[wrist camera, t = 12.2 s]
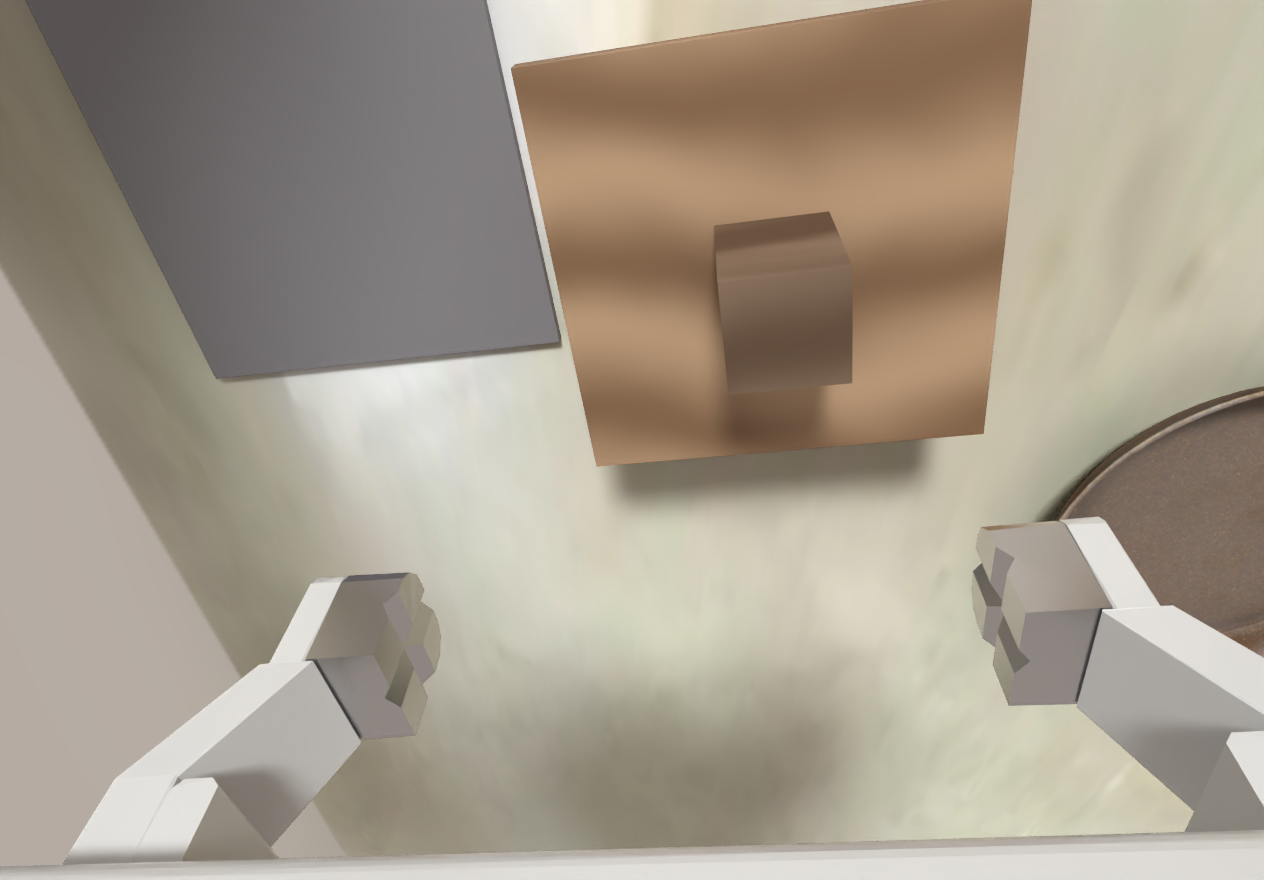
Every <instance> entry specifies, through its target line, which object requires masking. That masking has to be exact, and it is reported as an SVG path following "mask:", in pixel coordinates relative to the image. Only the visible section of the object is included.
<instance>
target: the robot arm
mask: <svg viewBox="0 0 1264 880" xmlns="http://www.w3.org/2000/svg"><path fill="white" fill-rule="evenodd" d="M976 550H977V552H978V555H979V557H980V559H981V562H982V563H981V564H980V565H979V566H978V567H977V568H976V569H975V570H974V571H973V577H972V600H973V609H974V613H975V617H976V621H977V624H978V627H979V630H980V633H981V635H982V638H983V639H985V640H986V641H987V642H989V643H990V644H991V645H993V646H994V647H995V652H994V659H993V667H994V669H995V672H996V674H997V677H998V679H999V682H1000V685H1001V687H1002V690H1003V692H1004V695H1005V697H1006V700H1007V702H1008V705H1009V706H1015V705H1055V704H1077V708H1078V709H1079V710H1080V711H1081V712H1083V713H1084V714H1085V715H1086V716H1087V717H1088V718H1089V719H1091V720H1092V721H1093V722H1094V723H1095V724H1096V725H1097V726H1098V727H1100V728H1101V729H1102V730H1103V731H1104V732H1105V733H1106V734H1107V735H1109V736H1110V737H1111V738H1112V739H1113V740H1114V741H1115V742H1117V743H1118V744H1119V745H1120V746H1121V747H1122V748H1123V749H1124V750H1126V751H1127V752H1128V753H1129V754H1130V755H1131V756H1132V757H1134V758H1135V759H1136V760H1137V761H1138V762H1139V763H1140V764H1141V765H1143V766H1144V767H1145V768H1146V769H1147V770H1148V771H1149V772H1151V773H1152V774H1153V775H1154V776H1155V777H1156V778H1157V779H1158V780H1160V781H1161V782H1162V783H1163V784H1164V785H1165V786H1166V787H1167V788H1169V789H1170V790H1171V791H1172V792H1173V793H1174V794H1175V795H1177V796H1178V797H1179V798H1180V799H1181V800H1182V801H1183V802H1184V803H1186V804H1187V805H1188V806H1189V807H1190V808H1191V809H1192V810H1194V813H1193V815H1192V817H1191V819H1190V822H1189V824H1188V826H1187V828H1186V830H1185V832H1168V833H1134V834H1100V835H1065V836H1031V837H997V838H962V839H929V840H897V841H864V842H831V843H798V844H765V845H732V846H698V847H663V848H628V849H593V850H558V851H523V852H489V853H454V854H420V855H385V856H351V857H317V858H283V859H280V858H279V857H278V856H277V855H276V853H275V852H274V851H273V850H272V849H271V846H272V845H273V844H274V843H275V842H276V841H277V839H278V838H279V837H280V836H281V835H282V834H283V833H284V831H285V830H286V829H287V828H288V827H289V826H290V824H291V823H292V822H293V821H294V820H295V819H296V817H297V816H298V815H299V814H300V813H301V812H302V811H303V809H304V808H305V807H306V806H307V805H308V804H309V803H310V802H311V800H312V799H313V798H314V797H315V796H316V795H317V793H318V792H319V791H320V790H321V789H322V788H323V787H324V785H325V784H326V783H327V782H328V781H329V780H330V779H331V777H332V776H333V775H334V774H335V773H336V772H337V770H338V769H339V768H340V767H341V766H342V765H343V764H344V762H345V761H346V760H347V759H348V758H349V757H350V756H351V754H352V753H353V752H354V751H355V750H356V749H357V747H358V746H359V745H360V744H361V740H363V739H376V738H388V737H401V736H414V735H416V732H417V729H418V726H419V723H420V720H421V716H422V713H423V710H424V707H425V703H426V700H427V697H428V696H427V694H426V692H425V690H424V688H423V686H422V684H423V683H424V682H425V681H426V680H427V679H428V678H429V677H430V676H431V675H432V674H433V673H434V672H435V671H436V667H437V663H438V660H439V656H440V641H441V635H440V629H439V624H438V620H437V618H436V616H435V613H434V611H433V610H432V609H431V608H429V607H428V606H426V605H425V604H423V603H422V602H420V601H421V598H422V595H423V592H424V588H423V586H422V584H421V582H420V580H419V578H418V576H417V575H416V574H413V573H392V574H374V575H355V576H348V577H330V578H318V579H317V580H315V581H314V582H313V583H311V584H310V586H309V587H308V589H307V591H306V593H305V595H304V597H303V599H302V601H301V603H300V605H299V607H298V609H297V610H296V612H295V614H294V616H293V618H292V620H291V622H290V624H289V626H288V628H287V630H286V632H285V634H284V636H283V637H282V639H281V641H280V643H279V645H278V647H277V649H276V651H275V653H274V655H273V657H272V659H271V661H270V663H268V664H259V665H258V666H257V667H255V668H254V669H253V670H252V671H250V672H249V673H248V674H247V675H245V676H244V677H243V678H242V679H240V680H239V681H238V682H237V683H236V684H234V685H233V686H232V687H230V688H229V689H228V690H227V691H225V692H224V693H223V694H221V695H220V696H219V697H218V698H216V699H215V700H214V701H213V702H211V703H210V704H209V705H208V706H206V707H205V708H204V709H202V710H201V711H200V712H199V713H197V714H196V715H195V716H194V717H192V718H191V719H190V720H189V721H187V722H186V723H185V724H184V725H182V726H181V727H180V728H179V729H177V730H176V731H175V732H173V733H172V734H171V735H170V736H168V737H167V738H166V739H165V740H163V741H162V742H161V743H160V744H158V745H157V746H156V747H155V748H153V749H152V750H151V751H150V752H148V753H147V754H146V755H144V756H143V757H142V758H141V759H139V760H138V761H137V762H136V763H134V764H133V765H132V766H131V767H129V768H128V769H127V770H126V771H124V772H123V773H122V774H120V775H119V776H118V777H117V778H115V780H114V781H113V783H112V784H111V786H110V788H109V789H108V791H107V793H106V794H105V796H104V797H103V799H102V801H101V803H100V804H99V805H98V807H97V809H96V810H95V812H94V813H93V815H92V817H91V819H90V820H89V822H88V823H87V825H86V826H85V828H84V830H83V831H82V833H81V834H80V836H79V838H78V839H77V841H76V843H75V844H74V846H73V847H72V849H71V851H70V852H69V854H68V855H67V857H66V859H65V860H64V862H63V864H62V865H42V866H41V865H40V866H6V867H0V880H1264V658H1263V657H1261V656H1260V655H1258V654H1256V653H1255V652H1253V651H1251V650H1249V649H1248V648H1246V647H1244V646H1242V645H1241V644H1239V643H1237V642H1236V641H1234V640H1232V639H1230V638H1229V637H1227V636H1225V635H1223V634H1222V633H1220V632H1218V631H1216V630H1215V629H1213V628H1211V627H1210V626H1208V625H1206V624H1204V623H1203V622H1201V621H1199V620H1197V619H1196V618H1194V617H1192V616H1191V615H1189V614H1187V613H1185V612H1184V611H1182V610H1180V609H1178V608H1177V607H1175V606H1173V605H1171V606H1160V604H1159V603H1158V601H1157V600H1156V598H1155V596H1154V595H1153V593H1152V592H1151V590H1150V589H1149V587H1148V586H1147V584H1146V583H1145V581H1144V579H1143V578H1142V576H1141V575H1140V573H1139V572H1138V570H1137V569H1136V567H1135V566H1134V564H1133V563H1132V561H1131V559H1130V558H1129V556H1128V555H1127V553H1126V552H1125V550H1124V549H1123V547H1122V546H1121V544H1120V542H1119V541H1118V539H1117V538H1116V536H1115V535H1114V533H1113V532H1112V530H1111V529H1110V527H1109V526H1108V524H1107V522H1106V521H1105V520H1103V519H1101V518H1100V517H1088V518H1077V519H1066V520H1059V521H1046V522H1035V523H1023V524H1012V525H1001V526H989V527H981V529H980V531H979V533H978V537H977V544H976Z"/></svg>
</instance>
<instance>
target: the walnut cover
mask: <svg viewBox="0 0 1264 880" xmlns="http://www.w3.org/2000/svg"><path fill="white" fill-rule="evenodd" d="M1031 6H1032V0H923V1H916V2H910V3H904V4H897V5H891V6H884V7H878V8H872V9H865V10H859V11H852V12H846V13H840V14H833V15H827V16H820V17H814V18H808V19H801V20H795V21H789V22H782V23H776V24H769V25H763V26H757V27H750V28H744V29H737V30H731V31H725V32H718V33H712V34H705V35H699V36H693V37H686V38H680V39H674V40H667V41H661V42H654V43H648V44H642V45H635V46H629V47H622V48H616V49H610V50H603V51H597V52H590V53H584V54H578V55H571V56H565V57H559V58H552V59H546V60H539V61H533V62H527V63H520V64H515V65H514V66H513V67H512V68H511V72H512V76H513V81H514V86H515V90H516V95H517V100H518V104H519V109H520V113H521V118H522V123H523V127H524V132H525V137H526V141H527V146H528V151H529V155H530V160H531V164H532V169H533V174H534V178H535V183H536V188H537V192H538V197H539V202H540V206H541V211H542V215H543V220H544V225H545V229H546V234H547V239H548V243H549V248H550V253H551V257H552V262H553V266H554V271H555V276H556V280H557V285H558V290H559V294H560V299H561V304H562V308H563V313H564V317H565V322H566V327H567V331H568V336H569V341H570V345H571V350H572V355H573V359H574V364H575V368H576V373H577V378H578V382H579V387H580V392H581V396H582V401H583V406H584V410H585V415H586V419H587V424H588V429H589V433H590V438H591V443H592V447H593V452H594V457H595V461H596V466H609V465H620V464H632V463H644V462H656V461H668V460H679V459H691V458H703V457H715V456H727V455H738V454H750V453H762V452H774V451H786V450H798V449H809V448H821V447H833V446H845V445H857V444H868V443H880V442H892V441H904V440H916V439H927V438H939V437H951V436H963V435H975V434H984V425H985V416H986V407H987V398H988V389H989V380H990V371H991V362H992V353H993V345H994V336H995V327H996V318H997V309H998V300H999V291H1000V282H1001V273H1002V264H1003V255H1004V246H1005V238H1006V229H1007V220H1008V211H1009V202H1010V193H1011V184H1012V175H1013V166H1014V157H1015V148H1016V139H1017V130H1018V122H1019V113H1020V104H1021V95H1022V86H1023V77H1024V68H1025V59H1026V50H1027V41H1028V32H1029V23H1030V15H1031Z"/></svg>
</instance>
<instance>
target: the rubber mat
mask: <svg viewBox="0 0 1264 880" xmlns="http://www.w3.org/2000/svg"><path fill="white" fill-rule="evenodd" d="M26 2H27V4H28V6H29V8H30V10H31V12H32V14H33V16H34V18H35V20H36V22H37V24H38V26H39V28H40V30H41V32H42V34H43V36H44V38H45V40H46V42H47V44H48V46H49V48H50V50H51V52H52V54H53V56H54V58H55V60H56V62H57V64H58V66H59V68H60V70H61V72H62V74H63V76H64V78H65V80H66V82H67V84H68V86H69V88H70V90H71V92H72V94H73V96H74V98H75V100H76V102H77V104H78V106H79V108H80V110H81V111H82V113H83V115H84V117H85V119H86V121H87V123H88V125H89V127H90V129H91V131H92V133H93V135H94V137H95V139H96V141H97V143H98V145H99V147H100V149H101V151H102V153H103V155H104V157H105V159H106V161H107V163H108V165H109V167H110V169H111V171H112V173H113V175H114V177H115V179H116V181H117V183H118V185H119V187H120V189H121V191H122V193H123V195H124V197H125V199H126V201H127V203H128V205H129V207H130V209H131V211H132V213H133V215H134V217H135V219H136V221H137V223H138V225H139V227H140V229H141V231H142V233H143V235H144V237H145V239H146V241H147V243H148V245H149V247H150V249H151V251H152V253H153V255H154V256H155V258H156V260H157V262H158V264H159V266H160V268H161V270H162V272H163V274H164V276H165V278H166V280H167V282H168V284H169V286H170V288H171V290H172V292H173V294H174V296H175V298H176V300H177V302H178V304H179V306H180V308H181V310H182V312H183V314H184V316H185V318H186V320H187V322H188V324H189V326H190V328H191V330H192V332H193V334H194V336H195V338H196V340H197V342H198V344H199V346H200V348H201V350H202V352H203V354H204V356H205V358H206V360H207V362H208V364H209V366H210V368H211V370H212V372H213V374H214V376H215V378H216V379H218V378H228V377H237V376H246V375H256V374H265V373H274V372H284V371H293V370H303V369H312V368H321V367H331V366H340V365H349V364H359V363H368V362H377V361H387V360H396V359H405V358H415V357H424V356H434V355H443V354H452V353H462V352H471V351H480V350H490V349H499V348H508V347H518V346H527V345H536V344H546V343H555V342H560V339H561V335H560V331H559V326H558V322H557V317H556V313H555V308H554V304H553V299H552V295H551V290H550V286H549V281H548V277H547V272H546V268H545V263H544V259H543V254H542V250H541V245H540V241H539V236H538V232H537V227H536V223H535V218H534V214H533V209H532V204H531V200H530V195H529V191H528V186H527V182H526V177H525V173H524V168H523V164H522V159H521V155H520V150H519V146H518V141H517V137H516V132H515V128H514V123H513V119H512V114H511V110H510V105H509V101H508V96H507V92H506V87H505V83H504V78H503V74H502V69H501V65H500V60H499V56H498V51H497V47H496V42H495V38H494V33H493V29H492V24H491V20H490V15H489V11H488V6H487V2H486V0H26Z"/></svg>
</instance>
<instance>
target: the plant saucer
mask: <svg viewBox="0 0 1264 880" xmlns="http://www.w3.org/2000/svg"><path fill="white" fill-rule="evenodd" d="M1088 517H1100V518H1101V519H1103V520H1105V521H1106V522H1107V524H1108V526H1109V527H1110V529H1111V530H1112V532H1113V533H1114V535H1115V536H1116V538H1117V539H1118V541H1119V542H1120V544H1121V546H1122V547H1123V549H1124V550H1125V552H1126V553H1127V555H1128V556H1129V558H1130V559H1131V561H1132V563H1133V564H1134V566H1135V567H1136V569H1137V570H1138V572H1139V573H1140V575H1141V576H1142V578H1143V579H1144V581H1145V583H1146V584H1147V586H1148V587H1149V589H1150V590H1151V592H1152V593H1153V595H1154V596H1155V598H1156V600H1157V601H1158V603H1159V604H1160V606H1171V605H1173V606H1175V607H1177V608H1178V609H1180V610H1182V611H1184V612H1185V613H1187V614H1189V615H1191V616H1192V617H1194V618H1196V619H1197V620H1199V621H1201V622H1203V623H1204V624H1206V625H1208V626H1210V627H1211V628H1213V629H1215V630H1216V631H1218V632H1220V633H1222V634H1223V635H1225V636H1227V637H1229V638H1230V639H1232V640H1234V641H1236V642H1237V643H1239V644H1241V645H1242V646H1244V647H1246V648H1248V649H1249V650H1251V651H1253V652H1255V653H1256V654H1258V655H1260V656H1261V657H1263V658H1264V386H1263V387H1258V388H1253V389H1248V390H1244V391H1240V392H1236V393H1233V394H1229V395H1226V396H1223V397H1219V398H1216V399H1213V400H1210V401H1207V402H1205V403H1202V404H1199V405H1196V406H1194V407H1192V408H1189V409H1187V410H1185V411H1182V412H1180V413H1178V414H1176V415H1173V416H1171V417H1169V418H1167V419H1165V420H1164V421H1162V422H1160V423H1158V424H1156V425H1154V426H1152V427H1151V428H1149V429H1147V430H1146V431H1144V432H1142V433H1141V434H1139V435H1138V436H1136V437H1134V438H1133V439H1131V440H1130V441H1128V442H1127V443H1126V444H1124V445H1123V446H1122V447H1120V448H1119V449H1118V450H1116V451H1115V452H1114V453H1113V454H1111V455H1110V456H1109V457H1108V458H1107V459H1106V460H1104V461H1103V462H1102V463H1101V464H1100V465H1099V466H1098V467H1097V468H1096V469H1095V470H1093V471H1092V472H1091V473H1090V475H1089V476H1088V477H1087V478H1086V479H1085V480H1084V481H1083V482H1082V483H1081V484H1080V486H1079V487H1078V488H1077V489H1076V490H1075V492H1074V493H1073V494H1072V496H1071V497H1070V498H1069V499H1068V501H1067V502H1066V504H1065V505H1064V507H1063V508H1062V510H1061V511H1060V513H1059V515H1058V516H1057V518H1056V520H1055V521H1059V520H1066V519H1077V518H1088Z"/></svg>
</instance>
